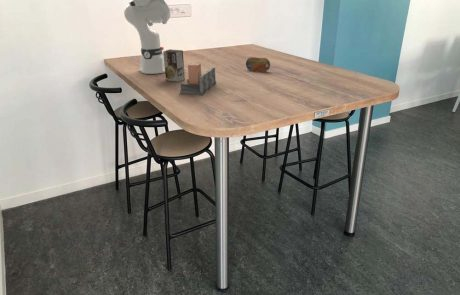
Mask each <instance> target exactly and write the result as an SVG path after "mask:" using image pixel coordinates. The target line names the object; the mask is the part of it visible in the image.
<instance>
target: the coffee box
mask: <svg viewBox="0 0 460 295" xmlns="http://www.w3.org/2000/svg"><path fill="white" fill-rule="evenodd" d="M162 52H163V53H162V54H163V55H164V64H165V80H166V81H170V82H181V81H185V79H186V77H185V76H186V74H185V63H184V62H185V61H184V51H183V50H179V49H166V50H162Z"/></svg>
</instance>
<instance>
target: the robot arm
mask: <svg viewBox="0 0 460 295" xmlns="http://www.w3.org/2000/svg"><path fill="white" fill-rule="evenodd" d="M123 13H124V18H125V20H126V21H127V22H128V23H129V24H130V25H132V26H133V27H134V28H135V30H136V31H137V32H138V33H137V34H138V35H139V40H140V46H141V47H140V53H141V56H140V59H139V60H140V64H139V65H140V68H139V69H138V71H139V72H141V73H142V74H146V75H153V74H154V75H156V74H162V73H165V64H164V54H163V51H164V46H161V38H160V33H158V31H156V30H154V29H151V27H153V25H154V24H163V25H166V24H167V23H168V21H169V20H170V17H171V9H170V7H169V5H168V4H167V2H166V0H130V2H128V4H127V5H126V6H125V8H124V11H123Z"/></svg>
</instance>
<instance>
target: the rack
mask: <svg viewBox="0 0 460 295" xmlns="http://www.w3.org/2000/svg"><path fill="white" fill-rule="evenodd" d="M186 81H187V83H180V89H179V92H180V94H183V95H195V96H196V95H198V96H204V95H206V93H207V92H209V90H211V89H212V88H214V86H216V84H217V81H216V67H215V66H212V67H211V68H210V69H208V70H206V71H205V72H204V73H202V74H201V76H200V77H199V81H200V85H198V84H189V78H187V79H186Z"/></svg>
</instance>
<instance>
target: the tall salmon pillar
mask: <svg viewBox="0 0 460 295" xmlns="http://www.w3.org/2000/svg"><path fill="white" fill-rule="evenodd" d="M187 71H188V79H189V84H198V85H200V81H199V77H200V76H201V75H202V64H201V63H197V62H195V63H194V62H191V63H189V64H187Z"/></svg>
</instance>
